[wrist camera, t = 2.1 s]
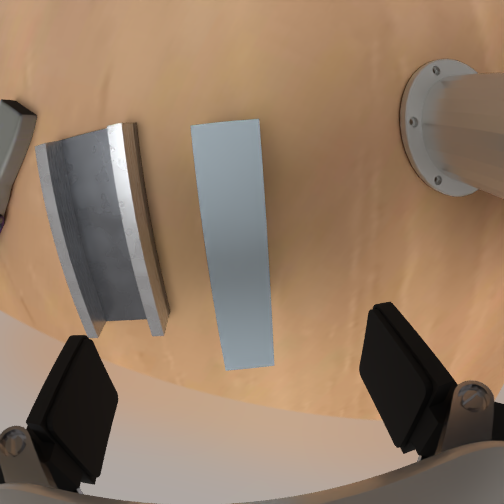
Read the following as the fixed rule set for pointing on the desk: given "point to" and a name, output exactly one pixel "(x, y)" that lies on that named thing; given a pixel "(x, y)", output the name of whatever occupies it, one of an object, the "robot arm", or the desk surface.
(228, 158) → the grey slab
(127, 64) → the desk surface
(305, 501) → the robot arm
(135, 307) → the track
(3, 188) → the infrared thermometer
